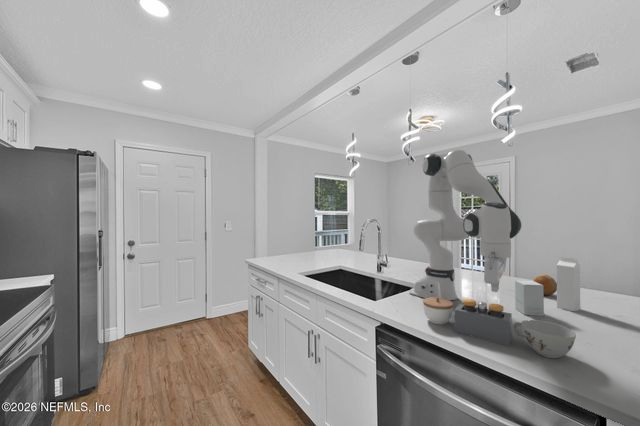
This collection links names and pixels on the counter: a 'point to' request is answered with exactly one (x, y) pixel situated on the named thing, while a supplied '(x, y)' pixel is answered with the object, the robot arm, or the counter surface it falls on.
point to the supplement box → (529, 298)
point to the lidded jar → (438, 310)
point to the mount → (484, 325)
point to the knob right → (496, 310)
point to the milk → (568, 284)
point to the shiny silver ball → (482, 307)
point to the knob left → (469, 305)
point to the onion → (547, 284)
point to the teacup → (547, 337)
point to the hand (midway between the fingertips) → (495, 290)
